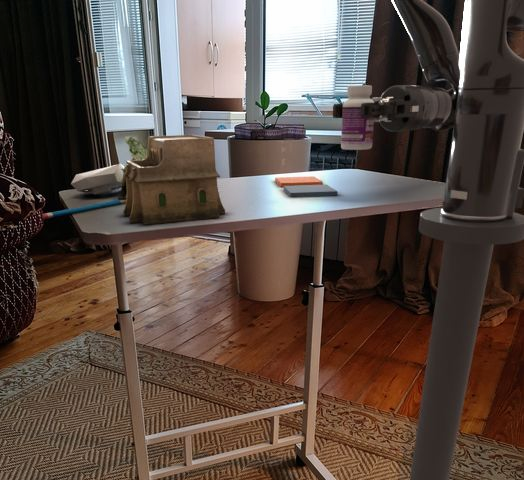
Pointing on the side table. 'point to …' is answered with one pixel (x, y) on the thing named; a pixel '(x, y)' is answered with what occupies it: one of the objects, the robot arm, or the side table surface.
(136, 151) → the terrain
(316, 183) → the terracotta pad
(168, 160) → the miniature house
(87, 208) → the pencil
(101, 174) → the turret
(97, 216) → the side table surface
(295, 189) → the slate pad
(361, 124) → the pill bottle
